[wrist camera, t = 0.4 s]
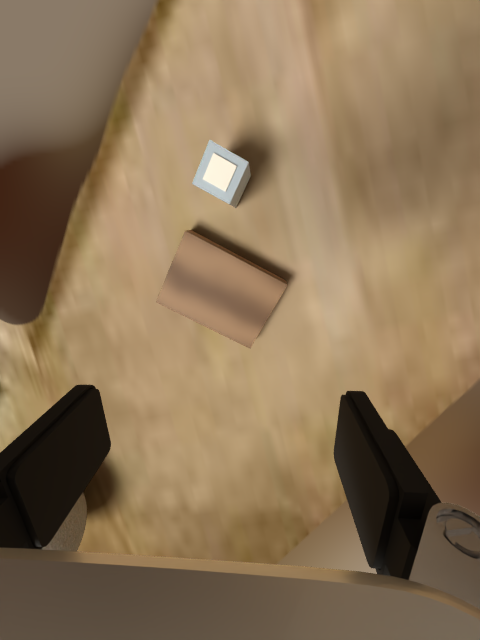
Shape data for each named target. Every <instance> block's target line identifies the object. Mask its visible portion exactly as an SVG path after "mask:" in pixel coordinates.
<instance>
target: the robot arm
mask: <svg viewBox="0 0 480 640" xmlns="http://www.w3.org/2000/svg"><path fill="white" fill-rule="evenodd" d="M110 447H111V441H110V437H109V432H108V428H107V423H106V419H105V414H104V410H103V405H102V401H101V396H100V392H99V390H98V389H96V388H95V386H93V385H76V386H75V387H74V388H72V389H71V390H70V391H69V392H68V393H67V394H66V395H65V396H63V397H62V398H61V399H60V400H59V401H58V402H57V403H56V404H55V405H53V406H52V407H51V408H50V409H49V410H48V411H47V412H46V413H44V414H43V415H42V416H41V417H40V418H39V419H38V420H37V421H35V422H34V423H33V424H32V425H31V426H30V427H29V428H28V429H26V430H25V431H24V432H23V433H22V434H21V435H20V436H19V437H17V438H16V439H15V440H14V441H13V442H12V443H11V444H10V445H8V446H7V447H6V448H5V449H4V450H3V451H2V452H1V453H0V640H480V517H479V516H478V515H476V514H475V513H473V512H472V511H470V510H468V509H466V508H463V507H461V506H459V505H456V504H451V503H441V501H440V500H439V498H438V496H437V495H436V493H435V492H434V491H433V489H432V487H431V486H430V484H429V483H428V481H427V480H426V478H425V477H424V475H423V474H422V472H421V471H420V469H419V468H418V466H417V465H416V463H415V461H414V460H413V458H412V457H411V456H410V454H409V452H408V451H407V450H406V448H405V446H404V445H403V443H402V442H401V440H400V439H399V437H398V436H397V434H396V433H395V432H394V431H393V430H390V429H388V428H387V427H386V425H385V423H384V422H383V420H382V419H381V417H380V416H379V414H378V412H377V411H376V409H375V408H374V406H373V404H372V403H371V401H370V400H369V398H368V397H367V395H366V393H365V392H363V391H347V392H346V395H342V396H341V400H340V408H339V415H338V423H337V431H336V438H335V446H334V459H335V463H336V466H337V469H338V473H339V476H340V479H341V482H342V485H343V488H344V491H345V494H346V497H347V500H348V503H349V507H350V509H351V513H352V516H353V519H354V522H355V525H356V528H357V531H358V534H359V537H360V541H361V544H362V547H363V550H364V553H365V556H366V559H367V562H368V564H369V566H370V567H371V568H375V569H376V571H377V574H373V573H366V572H359V571H348V570H337V569H336V570H335V569H325V568H314V567H303V566H289V565H276V564H262V563H248V562H234V561H219V560H205V559H189V558H174V557H159V556H143V555H127V554H111V553H94V552H77V551H60V550H42V548H43V547H45V546H47V545H48V544H49V543H50V542H51V540H52V539H53V537H54V536H55V534H56V533H57V531H58V530H59V528H60V526H61V525H62V523H63V522H64V520H65V519H66V517H67V516H68V514H69V513H70V511H71V510H72V508H73V507H74V505H75V503H76V502H77V500H78V499H79V497H80V496H81V494H82V493H83V491H84V490H85V488H86V487H87V485H88V483H89V482H90V480H91V479H92V477H93V476H94V474H95V473H96V471H97V470H98V468H99V467H100V465H101V464H102V462H103V460H104V459H105V457H106V456H107V454H108V453H109V450H110Z"/></svg>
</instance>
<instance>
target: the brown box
mask: <svg viewBox="0 0 480 640" xmlns="http://www.w3.org/2000/svg"><path fill="white" fill-rule="evenodd" d="M286 287H287V283H286V280H284V279H282V278H281V277H279V276H277V275H275V274H273V273H271V272H269V271H267V270H265V269H264V268H262V267H260V266H258V265H256V264H254V263H252V262H250V261H249V260H247V259H245V258H243V257H241V256H239V255H237V254H235V253H233V252H232V251H230V250H228V249H226V248H224V247H222V246H220V245H218V244H216V243H215V242H213V241H211V240H209V239H207V238H205V237H203V236H201V235H200V234H198V233H196V232H194V231H192V230H187V231H185V232H184V235H183V237H182V240H181V242H180V245H179V247H178V249H177V252H176V254H175V257H174V259H173V261H172V264H171V266H170V269H169V271H168V274H167V276H166V278H165V281H164V283H163V286H162V288H161V291H160V293H159V295H158V298H157V300H156V302H157V303H159V304H161V305H163V306H165V307H167V308H169V309H171V310H173V311H175V312H177V313H179V314H181V315H183V316H185V317H187V318H189V319H191V320H193V321H195V322H197V323H199V324H201V325H203V326H205V327H207V328H209V329H211V330H213V331H215V332H217V333H219V334H221V335H223V336H225V337H228V338H230V339H232V340H234V341H236V342H238V343H240V344H242V345H244V346H246V347H248V348H251V346H252V344H253V343H254V341H255V339H256V338H257V336H258V334H259V333H260V331H261V329H262V328H263V326H264V324H265V322H266V321H267V319H268V317H269V316H270V314H271V312H272V311H273V309H274V307H275V305H276V304H277V302H278V300H279V299H280V297H281V295H282V294H283V292H284V290H285V289H286Z"/></svg>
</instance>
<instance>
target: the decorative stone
mask: <svg viewBox="0 0 480 640" xmlns="http://www.w3.org/2000/svg"><path fill="white" fill-rule="evenodd" d="M86 518H87V505H86V499H85V496H84V493H82V494H81V496H80V497H79V499H78V500H77V502H76V503H75V505H74V507H73V508H72V510H71V511H70V513H69V514H68V516H67V517H66V519H65V520H64V522H63V523H62V525H61V526H60V528H59V530H58V531H57V533H56V534H55V536H54V537H53V539H52V540H51V542H50V543H49V544H48V545H47V546H45V547H43V548H42V550H60V551H77V550H78V547H79V545H80V543H81V540H82V537H83V534H84V530H85V525H86Z"/></svg>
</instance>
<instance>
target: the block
mask: <svg viewBox="0 0 480 640" xmlns="http://www.w3.org/2000/svg"><path fill="white" fill-rule="evenodd" d="M250 177H251V173H250V167H249V162H248V161H246V160H244V159H242V158H241V157H239V156H237V155H235V154H234V153H232V152H230V151H228V150H227V149H225V148H223V147H221V146H220V145H218V144H216V143H214V142H213V141H211V140H209V142H208V145H207V147H206V150H205V153H204V155H203V158H202V160H201V163H200V165H199V168H198V170H197V173H196V175H195V178H194V180H193V183H192V184H194V185H195V186H197V187H199V188H201V189H203V190H204V191H206V192H208V193H210V194H212V195H213V196H215V197H217V198H219V199H221V200H222V201H224V202H226V203H228V204H230V205H232V206H233V207H235V208H236V207H237V205H238V203H239V200H240V198H241V196H242V194H243V192H244V190H245V187H246V185H247V183H248V181H249V179H250Z"/></svg>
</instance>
